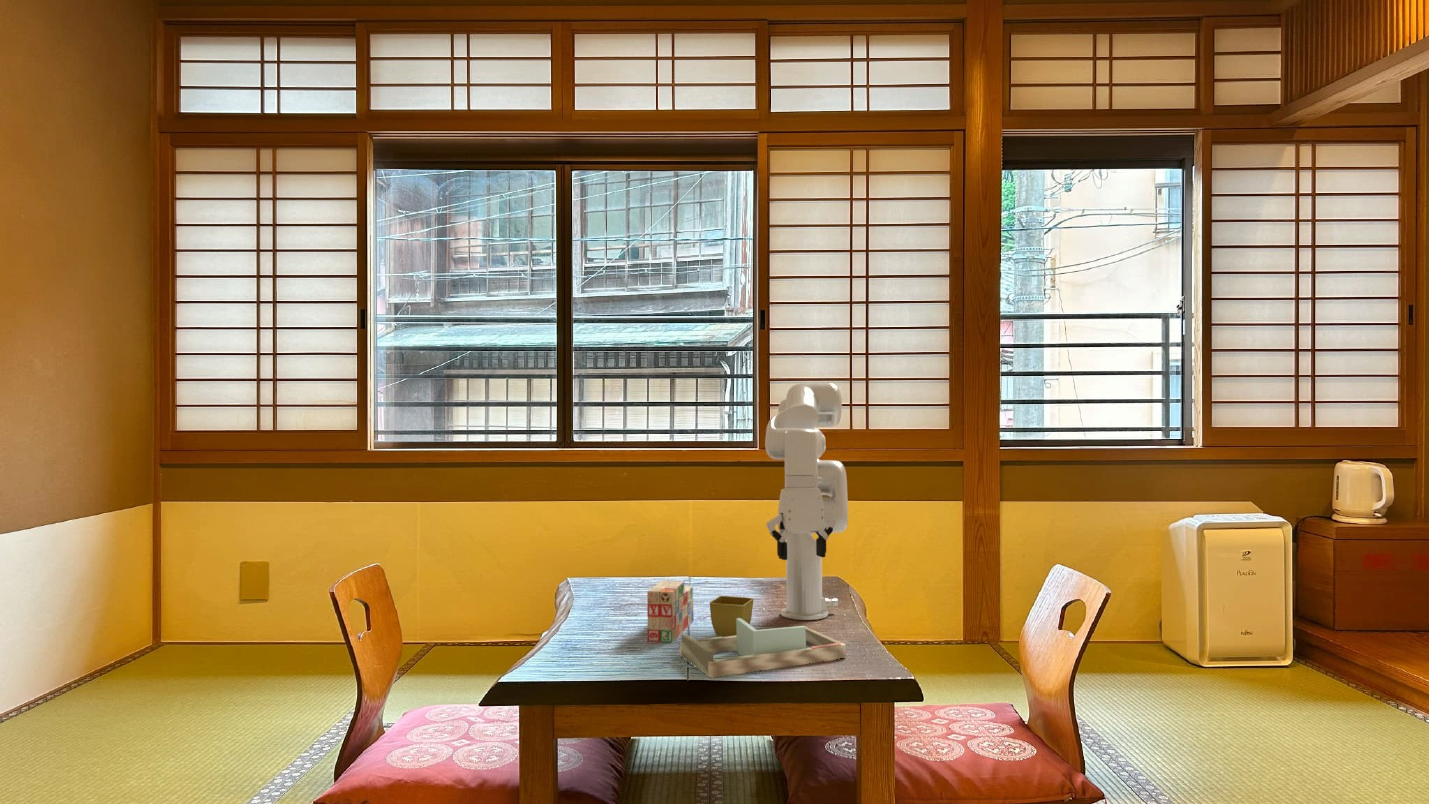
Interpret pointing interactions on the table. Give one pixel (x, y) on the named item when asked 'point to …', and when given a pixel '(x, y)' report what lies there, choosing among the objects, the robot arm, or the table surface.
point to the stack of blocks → (669, 610)
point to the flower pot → (729, 613)
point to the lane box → (704, 649)
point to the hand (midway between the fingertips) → (802, 557)
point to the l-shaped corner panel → (768, 639)
